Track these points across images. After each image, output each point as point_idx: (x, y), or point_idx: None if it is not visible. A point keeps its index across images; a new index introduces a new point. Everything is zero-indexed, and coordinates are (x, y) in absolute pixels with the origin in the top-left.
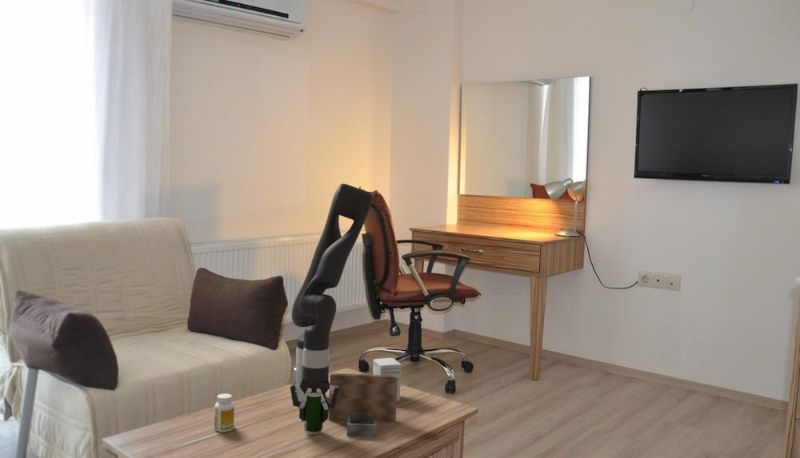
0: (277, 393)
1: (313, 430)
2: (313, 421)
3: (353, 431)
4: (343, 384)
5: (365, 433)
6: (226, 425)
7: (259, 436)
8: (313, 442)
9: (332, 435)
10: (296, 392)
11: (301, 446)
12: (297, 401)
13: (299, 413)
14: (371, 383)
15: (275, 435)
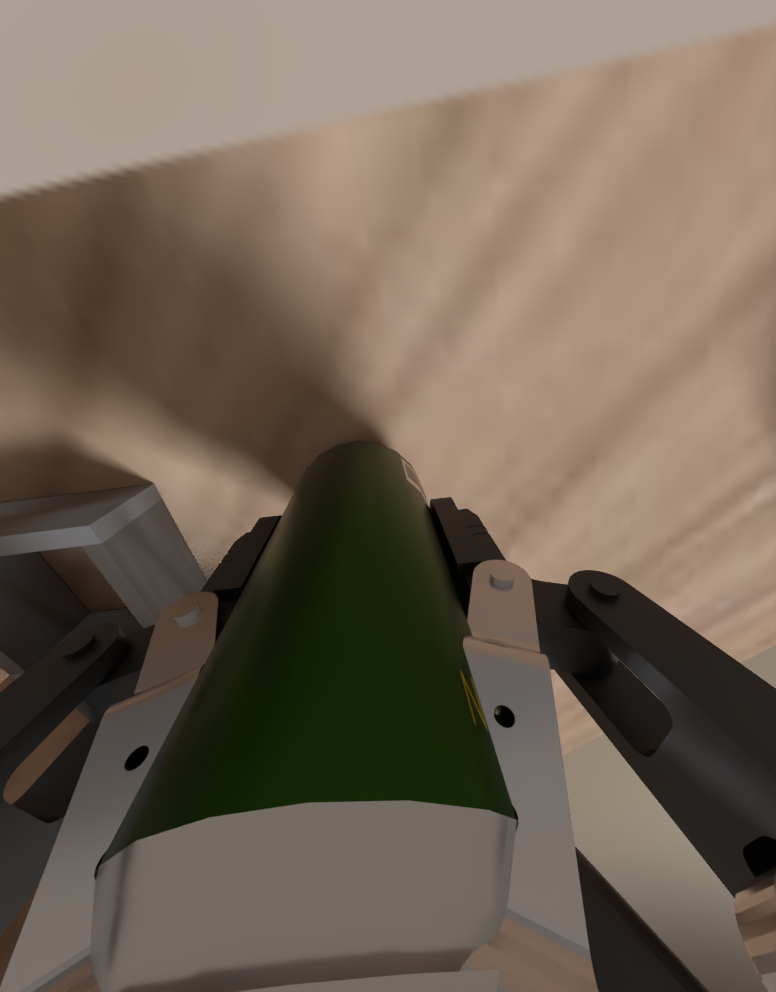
0: None
1: (344, 447)
2: (340, 473)
3: (85, 504)
4: None
5: (17, 508)
6: None
7: (681, 380)
8: (322, 348)
9: (243, 480)
10: (716, 835)
11: (390, 248)
12: (583, 649)
13: (489, 535)
14: None
15: (580, 415)
